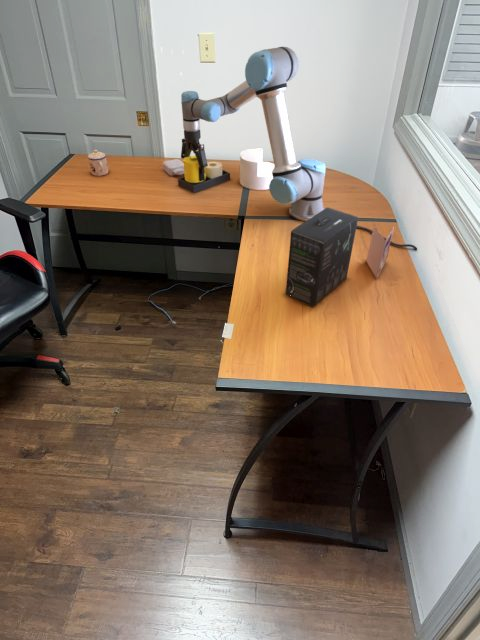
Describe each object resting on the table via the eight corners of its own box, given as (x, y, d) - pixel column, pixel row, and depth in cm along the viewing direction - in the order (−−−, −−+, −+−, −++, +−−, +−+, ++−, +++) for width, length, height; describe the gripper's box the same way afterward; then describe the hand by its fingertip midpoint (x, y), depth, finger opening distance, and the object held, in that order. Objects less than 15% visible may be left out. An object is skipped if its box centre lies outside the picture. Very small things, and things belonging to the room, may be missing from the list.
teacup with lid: (89, 171, 229) (84, 149, 221) (106, 168, 232) (102, 146, 225) (95, 179, 221) (90, 156, 213) (112, 176, 224) (108, 153, 217)
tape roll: (205, 174, 216) (204, 155, 210) (205, 182, 209) (204, 163, 203) (185, 174, 216) (184, 155, 210) (184, 182, 208) (182, 163, 202)
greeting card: (379, 279, 153) (388, 241, 144) (358, 273, 156) (366, 236, 146) (387, 263, 161) (396, 227, 151) (367, 258, 164) (375, 222, 154)
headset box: (318, 266, 159) (328, 200, 143) (347, 278, 154) (361, 210, 137) (283, 295, 146) (289, 225, 129) (314, 309, 140) (324, 238, 124)
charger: (174, 180, 220) (163, 170, 230) (190, 176, 224) (179, 167, 234) (173, 171, 217) (162, 161, 227) (190, 167, 220) (178, 158, 230)
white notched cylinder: (277, 191, 210) (279, 163, 202) (236, 188, 213) (236, 161, 204) (281, 175, 225) (282, 149, 217) (243, 173, 228) (243, 147, 219)
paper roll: (226, 178, 220) (225, 164, 216) (212, 183, 216) (211, 169, 211) (214, 173, 226) (213, 160, 221) (200, 178, 221) (199, 164, 216)
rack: (230, 179, 221) (230, 172, 218) (193, 193, 208) (193, 186, 206) (214, 173, 227) (214, 166, 225) (178, 185, 215) (177, 178, 213)
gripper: (214, 133, 193) (216, 181, 208) (183, 122, 206) (186, 168, 220) (201, 137, 189) (204, 186, 204) (170, 125, 202) (174, 172, 216)
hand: (195, 177), depth 212 cm, fingers closed on tape roll, 10 cm apart
